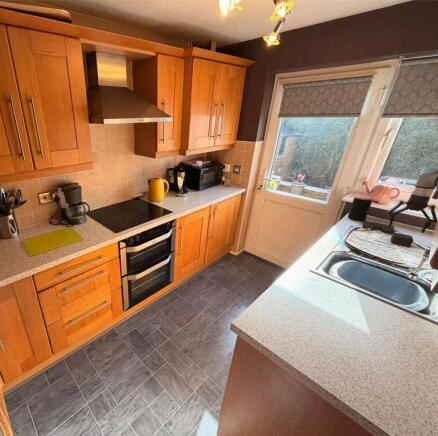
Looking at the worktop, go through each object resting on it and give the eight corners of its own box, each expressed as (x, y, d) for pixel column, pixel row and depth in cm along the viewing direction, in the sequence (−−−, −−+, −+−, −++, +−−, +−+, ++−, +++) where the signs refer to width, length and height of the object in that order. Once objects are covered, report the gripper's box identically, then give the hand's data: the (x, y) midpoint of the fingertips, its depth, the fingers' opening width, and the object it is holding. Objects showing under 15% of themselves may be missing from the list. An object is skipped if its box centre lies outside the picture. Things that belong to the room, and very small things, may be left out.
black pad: (410, 247, 137) (413, 240, 135) (391, 243, 142) (394, 236, 140) (408, 241, 144) (411, 234, 142) (390, 237, 149) (393, 230, 147)
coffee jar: (366, 222, 173) (374, 199, 166) (348, 220, 178) (355, 197, 172) (363, 218, 181) (371, 196, 175) (346, 215, 187) (353, 194, 180)
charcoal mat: (393, 234, 153) (394, 231, 153) (362, 228, 163) (362, 225, 163) (392, 228, 163) (393, 225, 162) (362, 222, 173) (363, 220, 172)
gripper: (453, 197, 125) (435, 232, 133) (389, 189, 141) (377, 221, 149) (457, 200, 120) (438, 237, 128) (390, 192, 136) (377, 225, 144)
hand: (405, 228), depth 139 cm, fingers open, 13 cm apart
